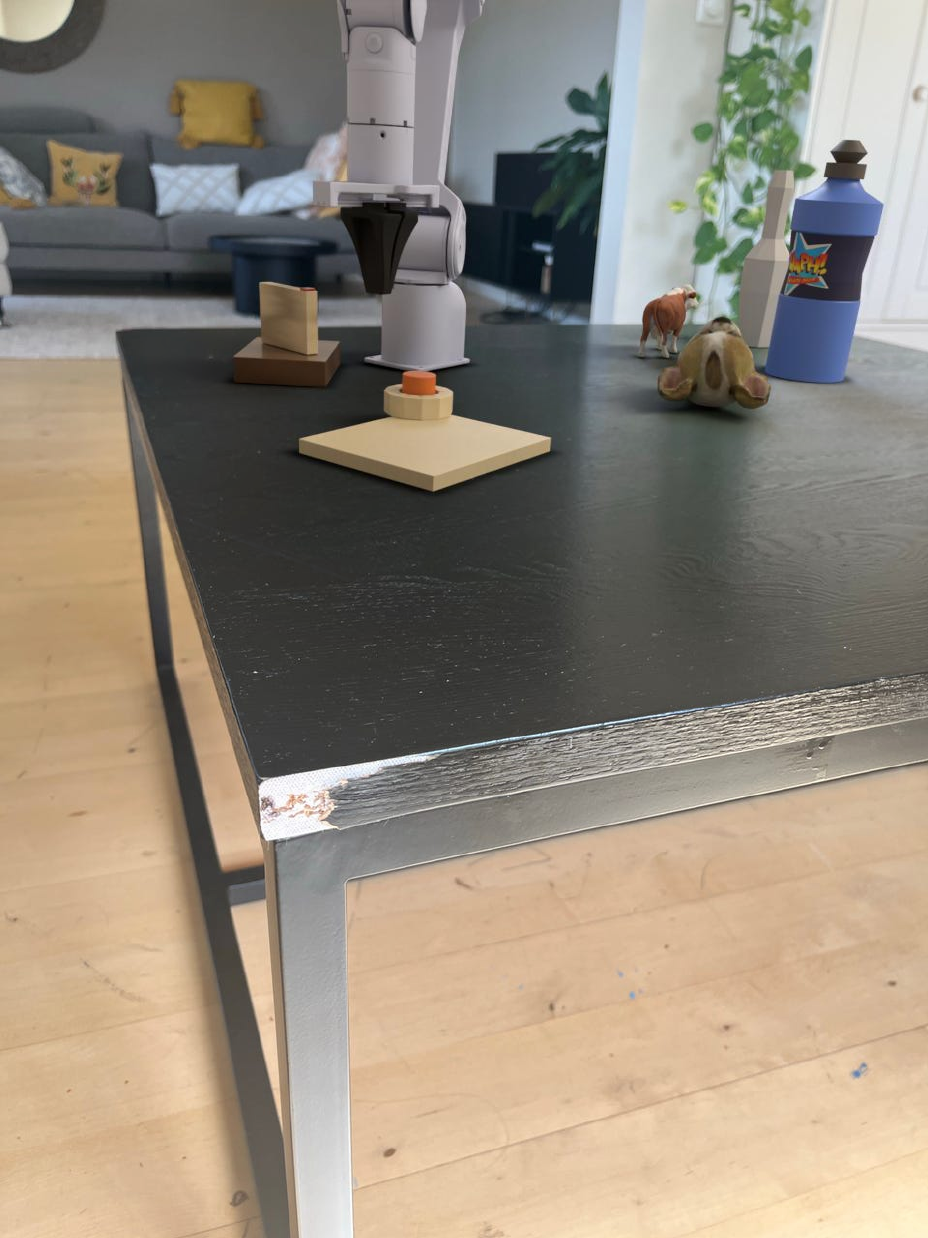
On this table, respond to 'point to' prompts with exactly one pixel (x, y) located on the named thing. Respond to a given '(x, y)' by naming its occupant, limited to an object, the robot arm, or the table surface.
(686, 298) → the bull figurine
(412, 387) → the button
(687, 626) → the table surface
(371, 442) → the beige button base
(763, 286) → the low poly bottle
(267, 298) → the light wood flat panel
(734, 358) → the ceramic sculpture
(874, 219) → the water bottle
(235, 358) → the stand
